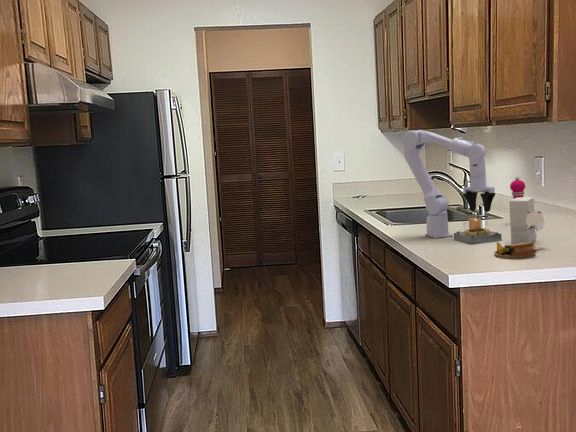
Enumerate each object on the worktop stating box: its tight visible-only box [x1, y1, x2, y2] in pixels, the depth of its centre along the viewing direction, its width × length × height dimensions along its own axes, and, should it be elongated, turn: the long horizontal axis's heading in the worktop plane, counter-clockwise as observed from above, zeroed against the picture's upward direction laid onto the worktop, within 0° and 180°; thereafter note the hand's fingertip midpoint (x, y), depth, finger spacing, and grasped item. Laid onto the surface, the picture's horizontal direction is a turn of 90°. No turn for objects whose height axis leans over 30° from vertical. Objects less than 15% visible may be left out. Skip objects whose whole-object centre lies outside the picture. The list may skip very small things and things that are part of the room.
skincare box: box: [509, 196, 535, 245], centre depth 211 cm, size 8×7×16 cm
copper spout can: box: [468, 215, 482, 232], centre depth 224 cm, size 4×4×7 cm
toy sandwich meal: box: [494, 241, 537, 259], centre depth 191 cm, size 12×14×5 cm
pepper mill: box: [509, 176, 526, 199], centre depth 252 cm, size 7×7×20 cm
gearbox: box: [453, 227, 503, 245], centre depth 226 cm, size 17×12×4 cm
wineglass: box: [525, 210, 545, 250], centre depth 199 cm, size 6×6×12 cm
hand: (480, 211), depth 230 cm, fingers open, 7 cm apart
